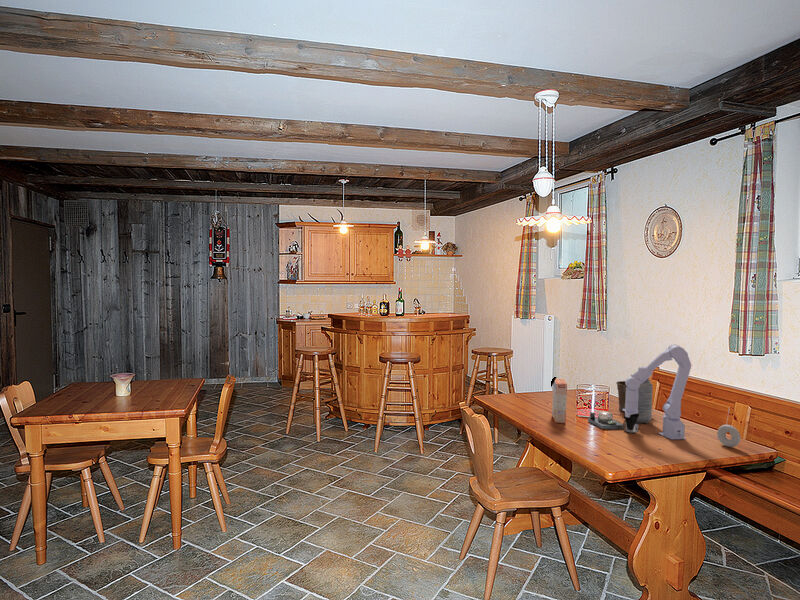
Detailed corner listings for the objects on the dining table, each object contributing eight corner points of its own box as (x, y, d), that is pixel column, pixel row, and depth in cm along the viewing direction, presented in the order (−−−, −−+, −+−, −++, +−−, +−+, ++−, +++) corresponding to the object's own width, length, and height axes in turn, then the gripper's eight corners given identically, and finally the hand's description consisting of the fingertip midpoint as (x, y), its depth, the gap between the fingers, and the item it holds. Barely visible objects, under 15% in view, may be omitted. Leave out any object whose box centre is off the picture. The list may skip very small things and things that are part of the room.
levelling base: (624, 428, 254) (625, 417, 253) (602, 429, 252) (602, 417, 252) (609, 421, 267) (609, 410, 267) (588, 421, 266) (588, 410, 265)
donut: (741, 449, 225) (742, 427, 224) (736, 450, 223) (737, 428, 223) (719, 442, 234) (720, 421, 233) (714, 443, 232) (715, 422, 232)
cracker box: (566, 423, 261) (567, 384, 260) (554, 423, 262) (555, 383, 262) (563, 416, 275) (564, 378, 274) (551, 416, 276) (552, 378, 275)
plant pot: (620, 406, 300) (620, 379, 299) (649, 411, 290) (650, 383, 289) (611, 411, 287) (612, 383, 287) (642, 416, 277) (643, 387, 277)
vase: (646, 418, 273) (647, 377, 272) (655, 425, 261) (656, 381, 260) (624, 418, 274) (625, 376, 273) (631, 424, 263) (633, 380, 262)
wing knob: (640, 432, 247) (640, 422, 246) (632, 433, 244) (633, 423, 244) (628, 428, 253) (628, 419, 253) (620, 429, 251) (621, 420, 251)
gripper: (627, 397, 256) (626, 424, 257) (618, 402, 245) (618, 430, 245) (642, 400, 252) (641, 426, 252) (634, 405, 240) (633, 433, 241)
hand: (630, 428), depth 248 cm, fingers closed on wing knob, 3 cm apart
